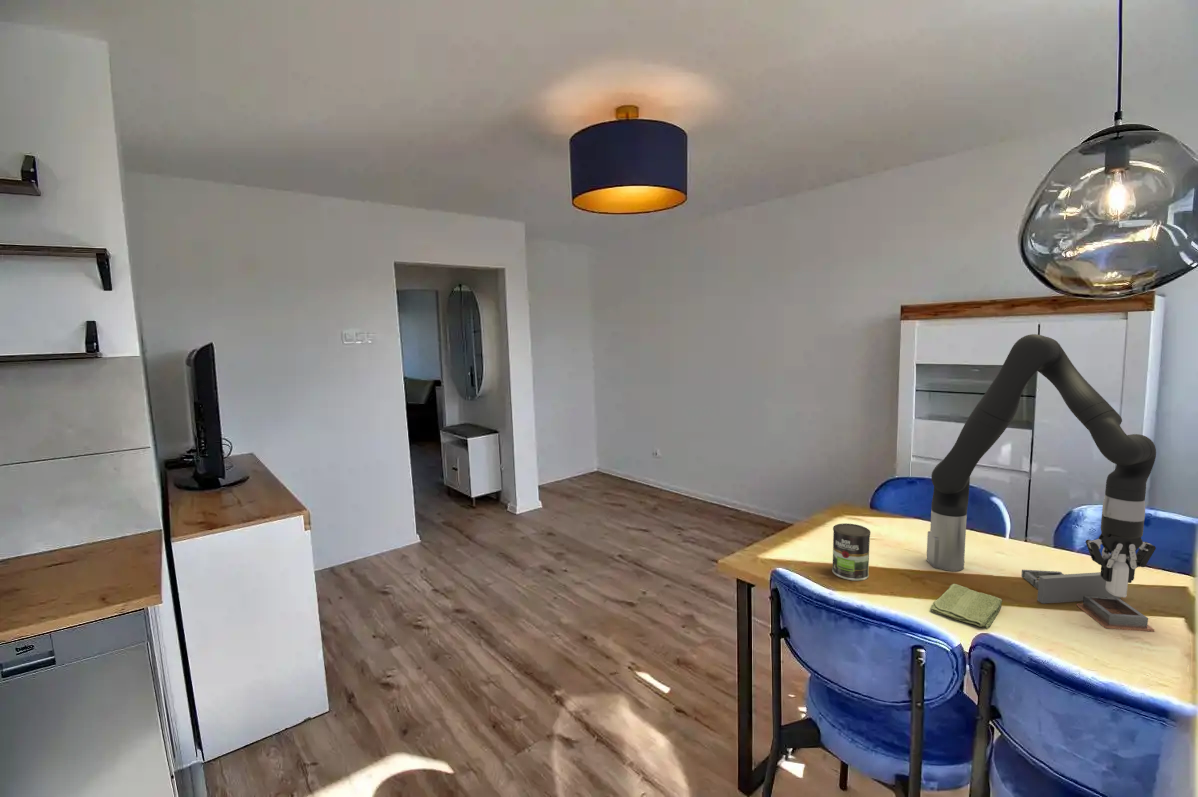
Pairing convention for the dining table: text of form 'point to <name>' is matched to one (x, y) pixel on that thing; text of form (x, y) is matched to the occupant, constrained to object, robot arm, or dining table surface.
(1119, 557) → the eye dropper bottle
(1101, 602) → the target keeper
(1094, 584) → the grey divider panel
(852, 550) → the coffee can
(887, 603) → the dining table surface
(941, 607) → the washcloth
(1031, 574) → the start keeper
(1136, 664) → the dining table surface
